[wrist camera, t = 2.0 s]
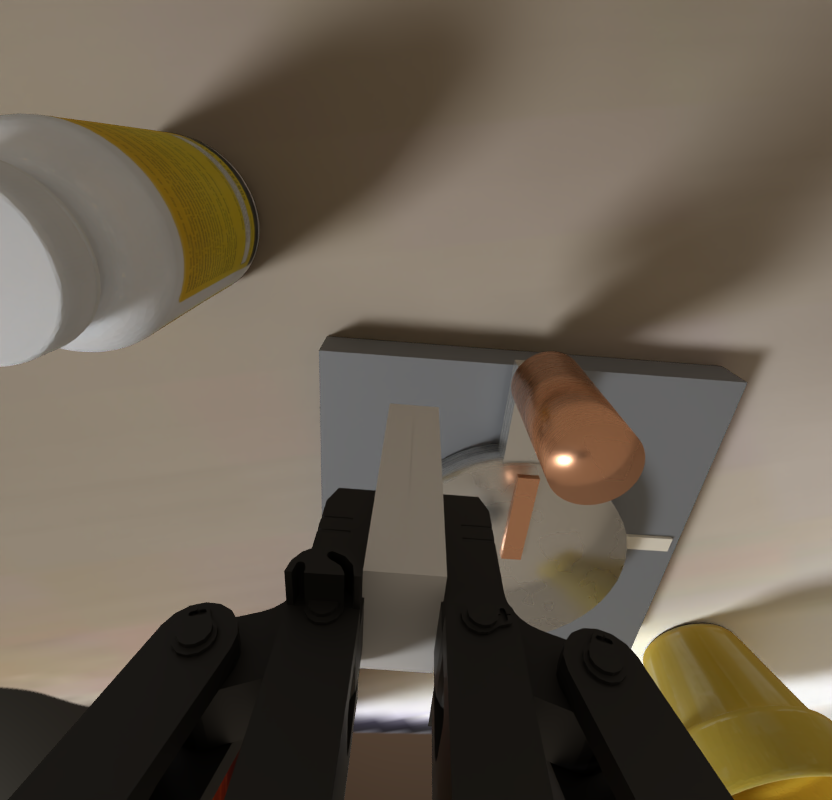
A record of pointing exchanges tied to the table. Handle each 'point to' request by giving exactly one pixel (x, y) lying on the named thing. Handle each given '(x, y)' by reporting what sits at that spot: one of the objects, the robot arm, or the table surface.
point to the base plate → (482, 423)
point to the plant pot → (742, 715)
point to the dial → (553, 490)
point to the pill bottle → (111, 233)
